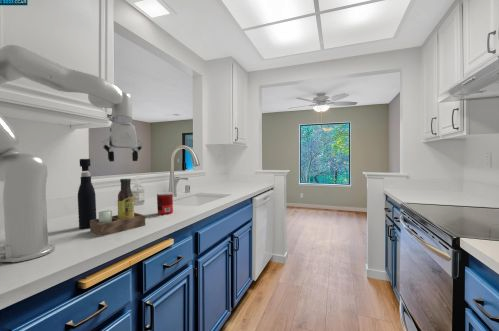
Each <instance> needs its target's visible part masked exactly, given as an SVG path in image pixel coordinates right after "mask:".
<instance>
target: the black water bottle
mask: <svg viewBox="0 0 499 331" xmlns="http://www.w3.org/2000/svg"><path fill="white" fill-rule="evenodd" d="M79 167H81V171H82V172H81V173H80V174H81V175H80V184H79V187H78V190H77V210H78V214H77V215H78V229H80V230H88V229H89V230H90V220H94V219H97V202H96V201H97V200H96V191H95V188H94V186H93V183H92V176H91V172H90V167H91V158H80V159H79Z"/></svg>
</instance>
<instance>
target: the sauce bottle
mask: <svg viewBox="0 0 499 331" xmlns="http://www.w3.org/2000/svg"><path fill="white" fill-rule="evenodd" d="M131 181H132V180H131V178H120V179H119V182H120V190H119V192H118V194H117V215H118V219H119V220H123V219H128V218H132V217H134V213H135V203H134V202H135V196H134V194H133V191H132V189H131Z"/></svg>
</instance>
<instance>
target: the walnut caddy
mask: <svg viewBox="0 0 499 331" xmlns="http://www.w3.org/2000/svg"><path fill="white" fill-rule="evenodd" d="M144 226H146V215H145V214H141V213H137V212H134V217H132V218H128V219H123V220H119V219H118V214H115V215H112V222H109V223H104V224H101V223H99V218H96V219H94V220H90V228H89V231H90V232H91V233H93V234H96V235H97V236H99V237H104V236H108V235H112V234H116V233H117V234H118V233H120V232H124V231H125V232H126V231H128V230H131V229H136V228H141V227H144Z"/></svg>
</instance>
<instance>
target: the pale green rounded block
mask: <svg viewBox="0 0 499 331" xmlns="http://www.w3.org/2000/svg"><path fill="white" fill-rule="evenodd" d="M112 216H113V211H112V210H103V211H99V212H98V219H99V223H101V224H104V223H109V222H112Z"/></svg>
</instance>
